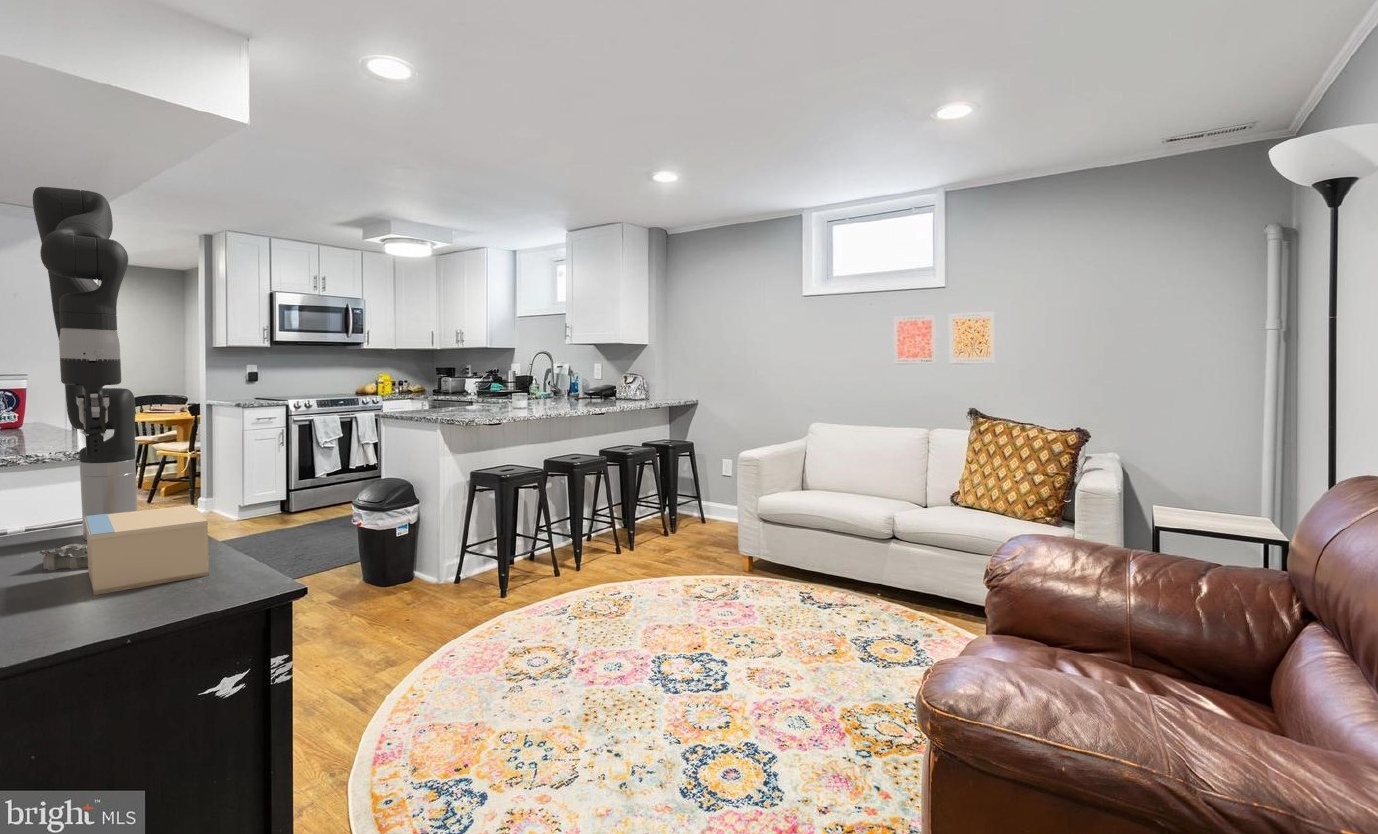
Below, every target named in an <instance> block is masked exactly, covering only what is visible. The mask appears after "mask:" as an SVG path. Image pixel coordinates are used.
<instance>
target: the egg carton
mask: <svg viewBox="0 0 1378 834" xmlns="http://www.w3.org/2000/svg"><path fill="white" fill-rule="evenodd" d="M39 554H41V556H43V558H42V559H43V562H42V563H43V566H42V567H43V569H44V570H48V571H56V570H59V569H64V568H65V569H66V568H67V569H68V568H69V569H70V570H71V569H74V570H75V569H79V568H84V567H88V553H87V544H79V543H70V544H67V545H64V546H61V547H60V548H55V550H50V551H48V550H40V551H39Z"/></svg>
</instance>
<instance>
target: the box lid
mask: <svg viewBox="0 0 1378 834" xmlns="http://www.w3.org/2000/svg"><path fill="white" fill-rule="evenodd" d="M84 520H85V524H86V528H87V531H88V535H89V539H90V540H93V539H101V538H109V537H117V536H125V535H132V534H140V533H148V532H156V531H164V530H172V529H179V528H187V527H195V526H203V525H208V522H209V521H208V519H207V518H205V516H204V515H203V514H202V513H201V512H200V511H199V510H198V509H197V508H196V507H195V506H194V505H193V504H191V505H189V504H188V505H181V506H172V507H162V508H161V507H160V508H153V509H152V508H151V509H144V510H143V509H142V510H137V511H133V512H124V513H114V514H100V515H91V516H86V517H84Z"/></svg>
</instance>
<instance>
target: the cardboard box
mask: <svg viewBox="0 0 1378 834" xmlns="http://www.w3.org/2000/svg"><path fill="white" fill-rule="evenodd" d="M208 530H209V529H208V525H203V526H195V527H187V528H179V529H172V530H164V531H156V532H148V533H140V534H132V535H125V536H117V537H109V538H101V539H93V540H90V539H89V535H88V531H87V528H86V531H87V540H86V545H87V553H88V566H87V569H88V570H87V571H88V576H89V580H90V584H91V589H92V593H93V596H96V595H97V596H98V595H103V594H109V593H113V592H115V593H116V592H119V591H126V590H127V591H128V590H131V589H137V588H144V587H149V586H154V585H161V584H166V583H173V582H178V581H183V580H190V579H195V578H197V579H198V578H201V577H209V576H210V568H209V567H210V566H209V565H210V562H209V561H210V559H209V558H210V557H209V532H208Z"/></svg>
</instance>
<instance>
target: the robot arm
mask: <svg viewBox="0 0 1378 834" xmlns="http://www.w3.org/2000/svg"><path fill="white" fill-rule="evenodd" d="M32 205H33V211H34V213H33V214H34V218H35V221H36V225H37V229H38V234H39V238H40V242H41V246H40V251H39V252H40V259H41V262H42V264H43V266H44V267H45V269H46V270H47V274H48V279H49V290H50V296H51V304H52V313H53V318H54V324H55V329H56V333H57V337H58V347H59V348H58V350H59V351H58V352H59V364H60V366H59V368H60V369H59V370H60V371H59V372H60V382H61V383H62V384H64V388H65V389H64V390H65V403H66V404H65V405H66V413H67V416H68V420H69V423H70V425H71V426H72V427H73V428H74V429H76V430H78V431H79V430H81V431H82V434H83V435H84V436H85V446H84V447H82V448H81V449H80V450H79V454H78V456H79V474H80V493H81V496H80V497H81V512H82V513H81V514H82V515H81V519H82V539H83V540H84V541H87V531H86V524H85V520H84V517H86V516H91V515H100V514H114V513H124V512H133V511H138V490H137V489H138V488H137V469H136V465H137V464H136V430H135V429H136V413H137V412H136V399H135V395H134V394H133V392H132V391H131V390H130V389H129V388H119V387H118V388H117V387H116V388H115V387H104V386H116V385H120V384H121V383H122V367H121V365H122V364H121V362H122V361H121V360H122V359H121V345H120V338H119V333H118V316H117V310H118V309H117V306H118V305H117V304H118V297H119V292H120V289H121V286H122V283H123V280H124V277H125V276H126V275H125V274H126V271H127V268H128V266H129V265H128V264H129V256H128V252H127V250H126V249H125V247H124V246H123V245H122V244H121V243H120V242H119V241H117V240H114V239H111V236H112V232H113V227H114V223H113V216H112V214H113V213H112V209H111V206H110V204H109V202H108V200H107V199H106V197H105V196H104V195H102V194H101V193H99V192H95V191H91V190H83V189H82V190H80V189H75V188H73V189H72V188H71V189H70V188H62V187H53V186H52V187H51V186H38V187H36V188H35V189H34V191H33V193H32ZM96 280H97V281H100V282H101V283H100V284H98V283H97V282H96ZM107 430H110V431H111V430H113V435H112V436H111V437H109V438H107V439H105V438H104V437H105V435H106V434H107V433H106V432H107Z"/></svg>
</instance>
